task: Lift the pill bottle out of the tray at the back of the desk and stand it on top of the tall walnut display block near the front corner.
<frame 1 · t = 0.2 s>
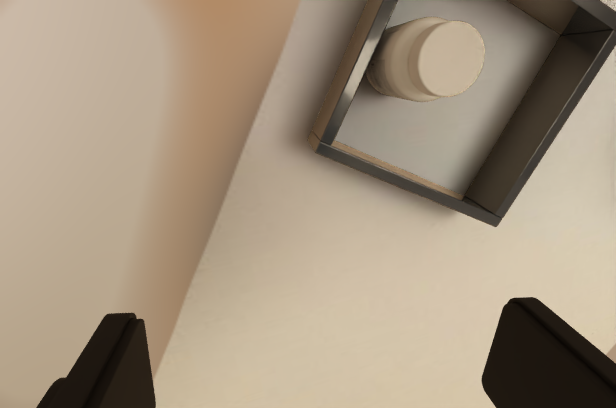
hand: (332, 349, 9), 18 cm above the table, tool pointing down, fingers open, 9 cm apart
tray: (440, 85, 25), on the table
pill bottle: (393, 62, 24), resting in tray
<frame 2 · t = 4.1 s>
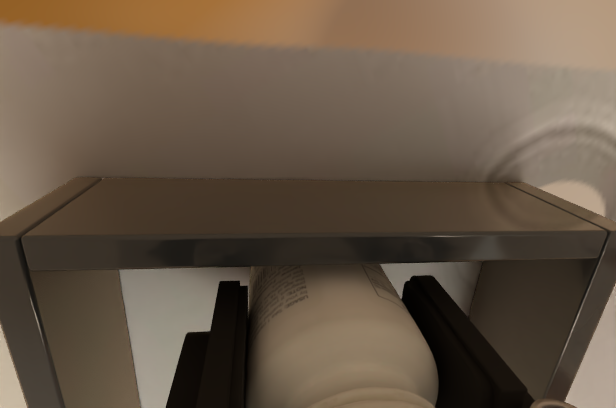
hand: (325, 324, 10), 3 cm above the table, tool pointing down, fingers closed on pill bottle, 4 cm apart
tray: (308, 355, 14), on the table
pill bottle: (311, 269, 13), resting in tray, touching gripper
when the fingers open (17 cm above the table, at t = 11.2 s): pill bottle stays where it is, resting on display block.
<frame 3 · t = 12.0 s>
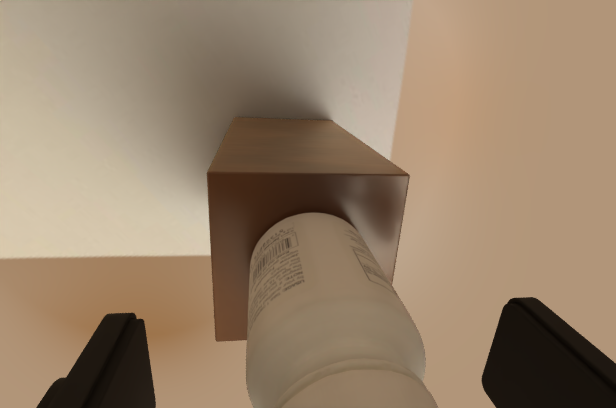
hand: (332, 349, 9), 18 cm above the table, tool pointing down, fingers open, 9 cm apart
pill bottle: (308, 260, 13), point 14 cm above the table, touching display block
display block: (282, 166, 26), on the table
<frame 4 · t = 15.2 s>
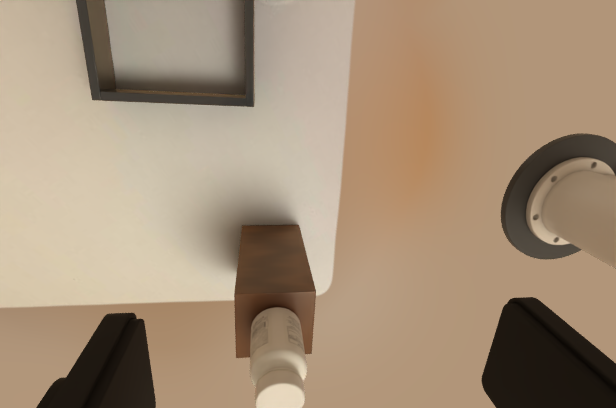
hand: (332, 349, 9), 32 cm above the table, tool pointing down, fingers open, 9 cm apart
tray: (178, 22, 34), on the table
pill bottle: (275, 324, 31), point 14 cm above the table, touching display block
display block: (270, 250, 44), on the table
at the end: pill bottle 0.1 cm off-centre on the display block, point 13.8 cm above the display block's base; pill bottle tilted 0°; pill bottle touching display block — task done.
